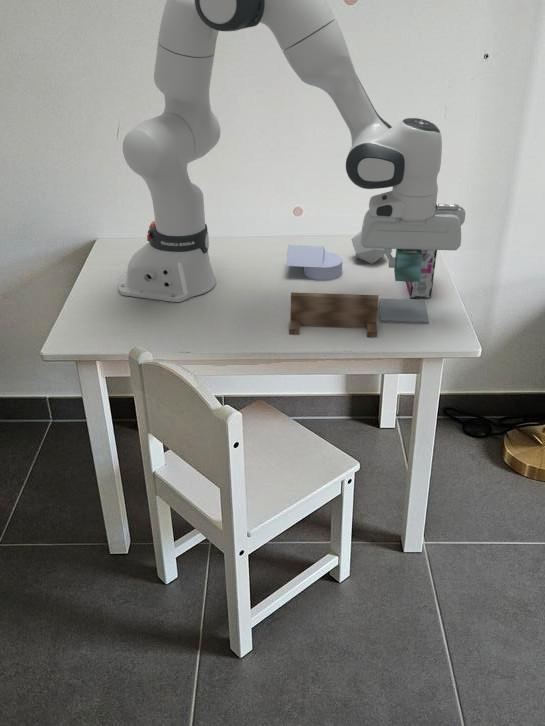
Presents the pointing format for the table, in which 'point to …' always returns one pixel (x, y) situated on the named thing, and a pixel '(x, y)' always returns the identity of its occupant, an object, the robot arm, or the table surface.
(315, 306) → the walnut board
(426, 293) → the candy bar box
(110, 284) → the table surface
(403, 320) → the grey mat
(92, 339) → the table surface
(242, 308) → the table surface
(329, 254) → the wedge on round base
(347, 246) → the table surface
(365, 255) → the die
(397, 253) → the teal block
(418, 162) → the robot arm
